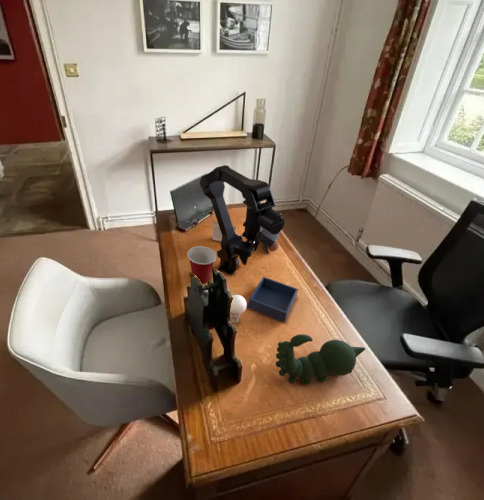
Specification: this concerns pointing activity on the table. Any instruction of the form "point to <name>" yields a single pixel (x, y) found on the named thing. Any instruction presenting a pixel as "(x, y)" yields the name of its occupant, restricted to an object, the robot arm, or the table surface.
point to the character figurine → (273, 248)
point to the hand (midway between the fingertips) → (249, 257)
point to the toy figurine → (316, 359)
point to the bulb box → (273, 299)
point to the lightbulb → (237, 307)
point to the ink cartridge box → (218, 232)
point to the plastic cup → (202, 262)
